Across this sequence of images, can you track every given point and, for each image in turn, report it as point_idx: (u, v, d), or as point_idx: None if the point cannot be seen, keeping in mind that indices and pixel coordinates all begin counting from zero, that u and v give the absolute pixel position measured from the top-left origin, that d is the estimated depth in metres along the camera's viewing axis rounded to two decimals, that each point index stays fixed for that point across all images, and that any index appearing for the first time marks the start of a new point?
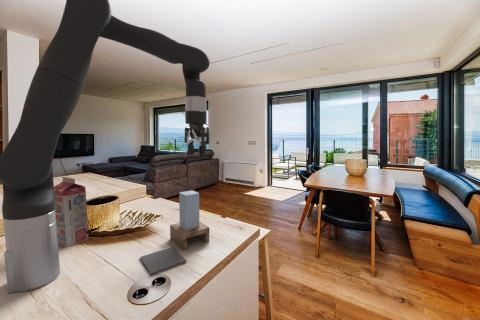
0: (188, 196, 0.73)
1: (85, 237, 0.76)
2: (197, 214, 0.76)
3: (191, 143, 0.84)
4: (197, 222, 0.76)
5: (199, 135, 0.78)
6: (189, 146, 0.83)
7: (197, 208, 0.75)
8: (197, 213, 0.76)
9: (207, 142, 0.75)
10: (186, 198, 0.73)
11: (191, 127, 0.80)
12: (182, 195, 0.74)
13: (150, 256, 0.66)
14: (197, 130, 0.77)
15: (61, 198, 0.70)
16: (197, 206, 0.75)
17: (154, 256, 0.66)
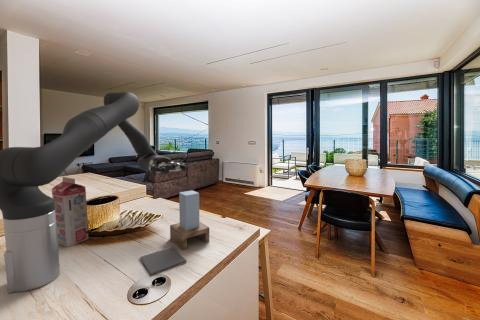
0: (188, 196, 0.73)
1: (85, 237, 0.76)
2: (197, 214, 0.76)
3: None
4: (197, 222, 0.76)
5: (175, 166, 0.91)
6: None
7: (197, 208, 0.75)
8: (197, 213, 0.76)
9: None
10: (186, 198, 0.73)
11: None
12: (182, 195, 0.74)
13: (150, 256, 0.66)
14: None
15: (61, 198, 0.70)
16: (197, 206, 0.75)
17: (154, 256, 0.66)
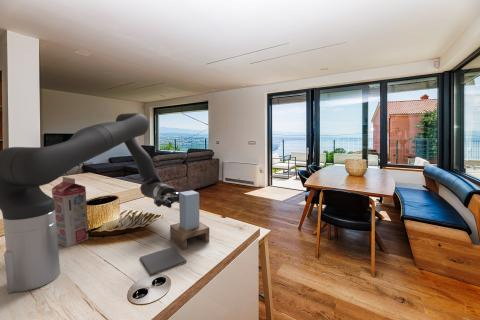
0: (188, 196, 0.73)
1: (85, 237, 0.76)
2: (197, 214, 0.76)
3: None
4: (197, 222, 0.76)
5: None
6: None
7: (197, 208, 0.75)
8: (197, 213, 0.76)
9: None
10: (186, 198, 0.73)
11: (167, 194, 0.88)
12: (182, 195, 0.74)
13: (150, 256, 0.66)
14: None
15: (61, 198, 0.70)
16: (197, 206, 0.75)
17: (154, 256, 0.66)
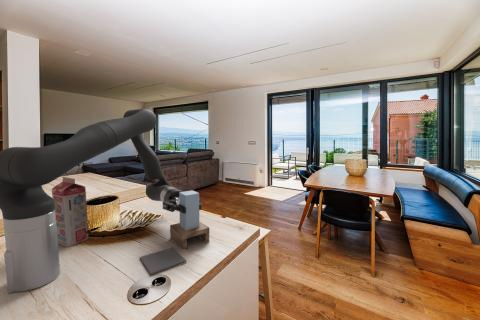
0: (188, 196, 0.73)
1: (85, 237, 0.76)
2: (197, 214, 0.76)
3: None
4: (197, 222, 0.76)
5: None
6: None
7: (197, 208, 0.75)
8: (197, 213, 0.76)
9: (200, 203, 0.82)
10: (186, 198, 0.73)
11: (175, 199, 0.82)
12: (182, 195, 0.74)
13: (150, 256, 0.66)
14: None
15: (61, 198, 0.70)
16: (197, 206, 0.75)
17: (154, 256, 0.66)
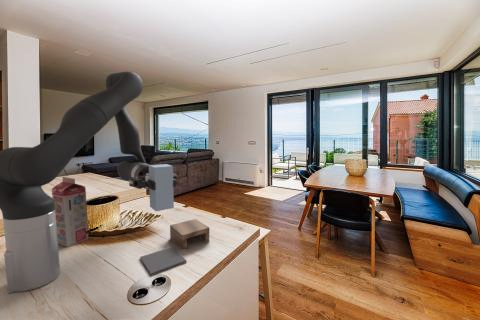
0: (158, 169, 0.59)
1: (85, 237, 0.76)
2: (171, 192, 0.62)
3: None
4: (171, 202, 0.62)
5: None
6: None
7: (170, 184, 0.61)
8: (171, 191, 0.62)
9: (176, 181, 0.68)
10: (156, 171, 0.58)
11: None
12: (151, 168, 0.60)
13: (150, 256, 0.66)
14: None
15: (61, 198, 0.70)
16: (170, 182, 0.61)
17: (154, 256, 0.66)
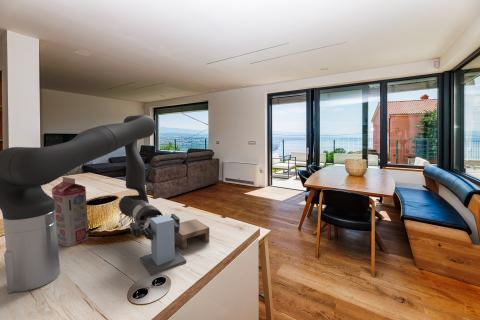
0: (160, 224, 0.61)
1: (85, 237, 0.76)
2: (172, 244, 0.63)
3: None
4: (172, 254, 0.64)
5: None
6: None
7: (172, 237, 0.63)
8: (172, 243, 0.63)
9: None
10: (158, 227, 0.60)
11: None
12: (153, 222, 0.62)
13: (150, 256, 0.66)
14: None
15: (61, 198, 0.70)
16: (172, 235, 0.63)
17: None
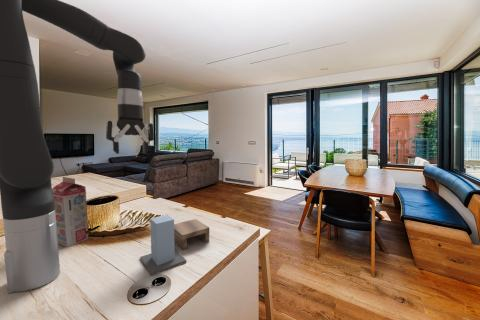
0: (160, 225, 0.61)
1: (85, 237, 0.76)
2: (172, 244, 0.63)
3: None
4: (172, 254, 0.64)
5: None
6: (118, 143, 0.71)
7: (171, 237, 0.63)
8: (172, 243, 0.63)
9: None
10: (157, 227, 0.60)
11: (126, 122, 0.72)
12: (153, 222, 0.62)
13: (150, 256, 0.66)
14: (141, 126, 0.75)
15: (61, 198, 0.70)
16: (171, 235, 0.63)
17: None
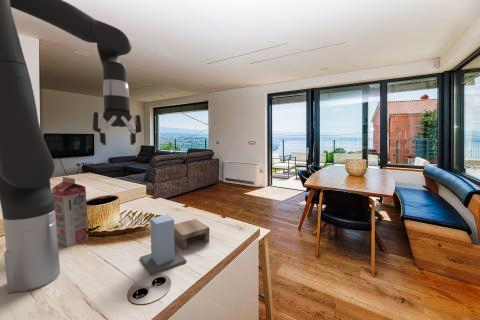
0: (160, 225, 0.61)
1: (85, 237, 0.76)
2: (172, 244, 0.63)
3: (103, 131, 0.72)
4: (172, 254, 0.64)
5: None
6: None
7: (171, 237, 0.63)
8: (172, 243, 0.63)
9: None
10: (157, 227, 0.60)
11: (113, 113, 0.72)
12: (153, 222, 0.62)
13: (150, 256, 0.66)
14: (128, 118, 0.75)
15: (61, 198, 0.70)
16: (171, 235, 0.63)
17: None
